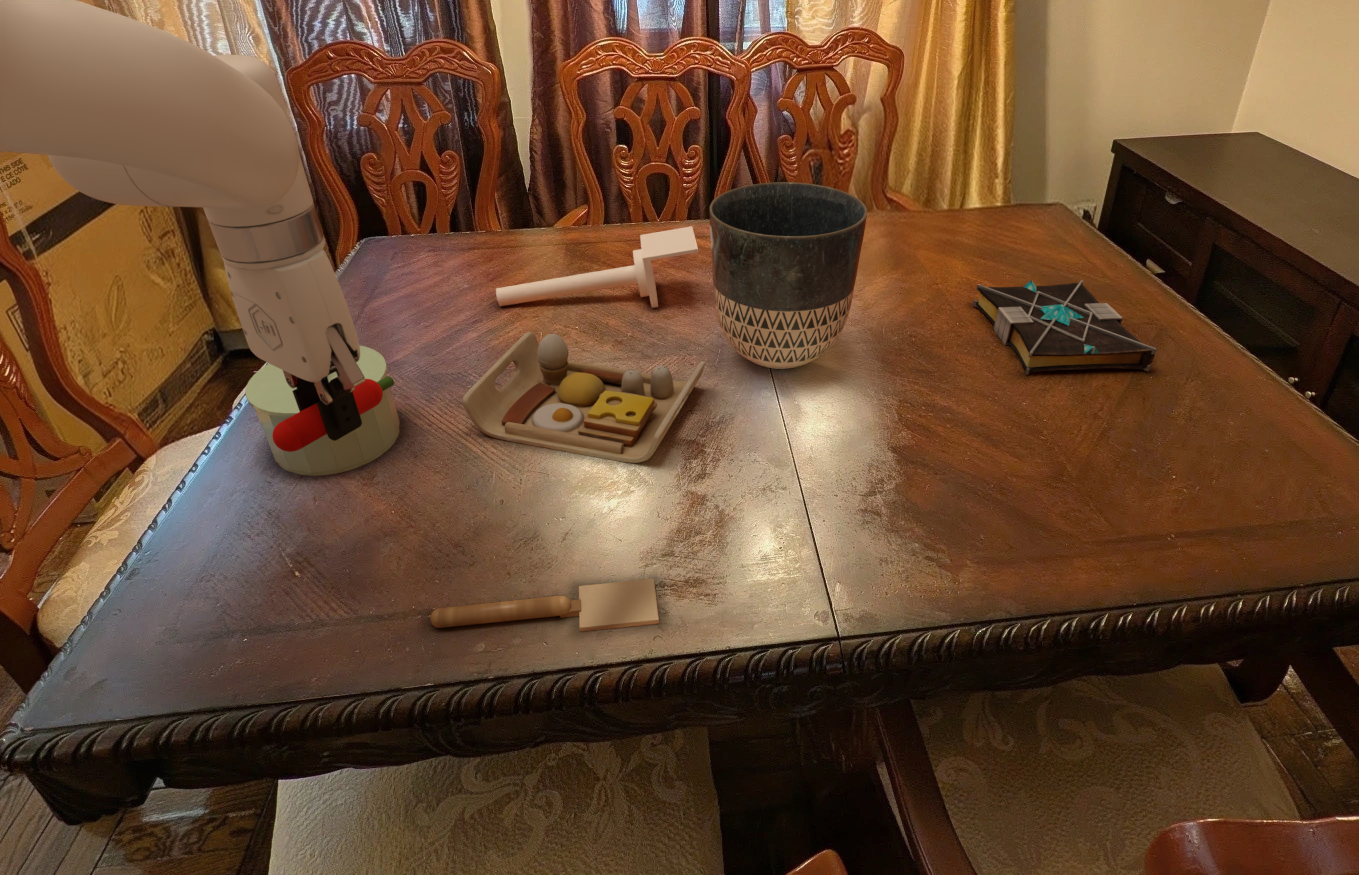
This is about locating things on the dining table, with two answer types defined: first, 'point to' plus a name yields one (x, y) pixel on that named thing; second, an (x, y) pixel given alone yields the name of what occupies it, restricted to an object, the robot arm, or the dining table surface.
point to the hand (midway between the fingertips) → (333, 424)
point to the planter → (784, 268)
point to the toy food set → (576, 402)
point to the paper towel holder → (610, 271)
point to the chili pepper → (310, 423)
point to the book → (1061, 328)
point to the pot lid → (277, 397)
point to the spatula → (566, 608)
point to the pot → (340, 442)
